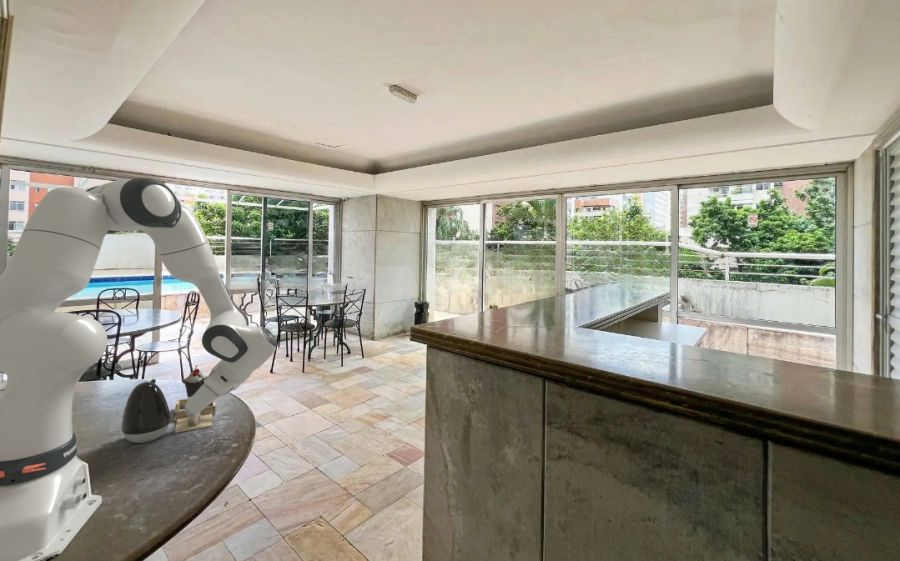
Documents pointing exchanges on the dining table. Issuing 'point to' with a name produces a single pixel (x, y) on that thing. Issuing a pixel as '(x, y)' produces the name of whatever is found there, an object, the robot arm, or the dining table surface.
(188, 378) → the sundae
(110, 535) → the dining table surface
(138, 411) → the pump dispenser
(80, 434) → the dining table surface
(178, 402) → the wooden frame tray
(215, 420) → the dining table surface
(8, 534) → the robot arm
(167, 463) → the dining table surface
